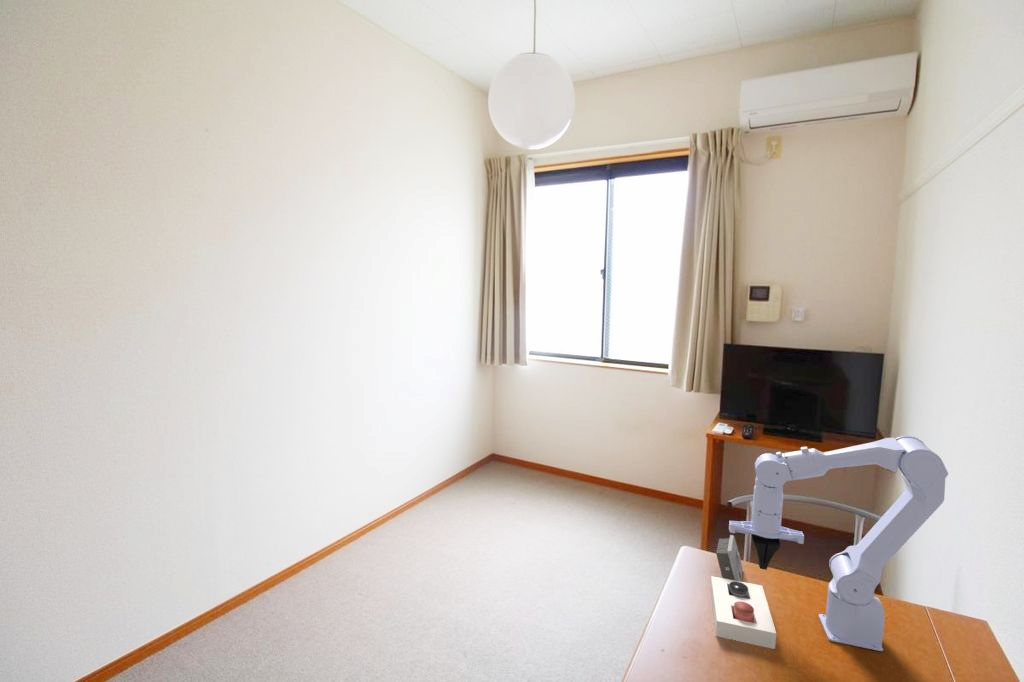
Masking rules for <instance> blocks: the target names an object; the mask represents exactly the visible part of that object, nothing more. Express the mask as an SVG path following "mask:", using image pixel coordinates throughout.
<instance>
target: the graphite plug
mask: <svg viewBox="0 0 1024 682" xmlns="http://www.w3.org/2000/svg"><path fill="white" fill-rule="evenodd" d="M747 593H748V587H747V586H746V585H745V584H743V583H740V582H731V583H730V594H729V595H731V596H736V597H741V598H747Z"/></svg>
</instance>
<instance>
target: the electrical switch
mask: <svg viewBox="0 0 1024 682" xmlns="http://www.w3.org/2000/svg"><path fill="white" fill-rule="evenodd" d="M715 555H716V559H717V562H718V565H719V570H720V575H721V578H724V579H729V580H735V581H740V582H742V579H743V565H742V564H743V563H742V560H741V556H740V552H739V549H738V545H737V541H736V537H735V535H733V534H730V535H729V538H727V537H726V538H719V539H718V543H717V548H716V554H715ZM726 568H727V570H726Z"/></svg>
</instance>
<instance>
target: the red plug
mask: <svg viewBox="0 0 1024 682" xmlns="http://www.w3.org/2000/svg"><path fill="white" fill-rule="evenodd" d="M753 614H754V608H753V607H752V606H751V605H750V604H748V603H746V602H741V601H738V602H735V603H734V619H737V620H742V621H747V622H751V623H752V622H753Z"/></svg>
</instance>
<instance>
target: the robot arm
mask: <svg viewBox="0 0 1024 682" xmlns="http://www.w3.org/2000/svg"><path fill="white" fill-rule="evenodd" d="M753 465H754V469H755V479H754V486H753V495H752V509H751V511H752V513H751V520H749V521H745V520H742V521H741V520H740V521H737V520H729V521H728V522H729V523H728V530H729V533H732V534H735V533H740V534H745V535H751V539H752V542H753V544H754V547H755V549H756V553H757V560H758V567H759V569H760V570H765V571H767V570H768V567H769V563H770V562H771V560H772V557H774V555H775V553H776V552H777V551H778V550H779V549H780V547H781V542H780V540H783V541H784V540H785V541H792V542H796V543H797V544H801V545H804V542H805V541H804V540H805V535H804V533H803V531H800V530H796V529H792V528H789V527H785V526H782V517H783V516H782V515H783V507H784V506H783V505H784V504H783V503H784V491H783V489H784V485H785V483H787V482H788V481H791V482H792V481H796V480H797V481H798V480H805V479H811V478H818V477H823V476H825V474H826V473H827V472H828V471H829V470H832V469H839V468H851V467H861V466H868V465H869V466H870V465H871V466H872V465H877V466H879V467H882V468H884V469H886V470H888V471H890V472H892V473H893V472H894V473H898V469H899V471H900V472H901V476H902V478H903V481H904V482H903V483H904V484H905V487H906V489H905V490H904V491H903V493H902V494H900V496H899V497H898V498H897V499H896V501H894V503H893V504H892V505H891V506H890V507H889V509H887V510H886V512H885V513H884V514H883V515H882V516H881V517H880V518H879V519H878V520H877V522H876V523H875V524H874V525H873V526H872V527H871V528H870V530H869V531H868V532H867V533H866V534H865V535H864V536H863V537H862V539H860V541H859V542H858V543H857V544H856V545H849V546H847V547H846V548H845V550H843V551H841V552H839V553H835V554H834V555H832V556H831V557H830V558H829V563H828V565H829V569H830V571H831V574H832V576H833V577H832V579H831V580H830V582H828V586H827V587H828V588H827V599H826V607H825V608H826V609H825V614H823V613H819V614H818V619H819V621H820V623H821V626H822V627H823V630H824V632H825V634H826V637H827V639H828V640H829V641H830V642H835V643H840V644H845V645H850V646H853V647H859V648H864V649H868V650H874V651H878V652H883V651H884V648H883V640H884V638H883V637H884V630H885V629H884V628H885V620H886V619H885V609H884V606H883V604H882V601H881V599H880V598H878V597H877V596H874V595H875V589H876V587H877V586H878V585H879V584H880V583H881V578H882V571H883V568H884V566H886V564H887V563H888V562H889V561H890V560H891V559H893V557H894V556H895V554H896V553H898V552H899V550H900V549H902V547H903V546H904V545H905V544H906V543H907V542H908V541H909V540H910V539H911V538H912V536H913V535H914V534H915V533H916V532H917V531H918V530H919V529H920V528H921V527H922V526H923V525H924V523H925V522H926V521H928V520H929V518H930V517H931V516H932V515H933V514H934V513H935V512H936V511H937V510H938V509H939V507H941V505H942V504H943V503H944V501H945V492H946V491H945V490H946V478H947V477H948V476H949V472H948V469H947V468H946V466H945V464H944V461H943V460H942V458H941V457H940V456H939V455H938V454H937V453H935V452H934V451H932V449H930V447H928V446H927V445H926V444H925V442H923V441H922V440H921V439H920V438H918V437H915V436H912V435H911V436H910V435H901V436H898V437H896V438H895V437H884V438H882V439H880V440H879V439H878V440H875V441H871V442H867V443H866V442H865V443H862V444H858V445H852V446H848V447H844V448H839V449H834V450H829V451H824V452H823V451H820V450H818V449H817V448H814V447H813V448H811V447H810V448H809V447H808V446H801V447H800V450H796V451H795V450H794V451H789V452H784V453H782V452H781V451H778V452H775V454H773V453H769V452H768V453H767V452H766V453H763V454H761V455H759V456H758V457H757V458H756V460H755V462H754V463H753Z"/></svg>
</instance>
